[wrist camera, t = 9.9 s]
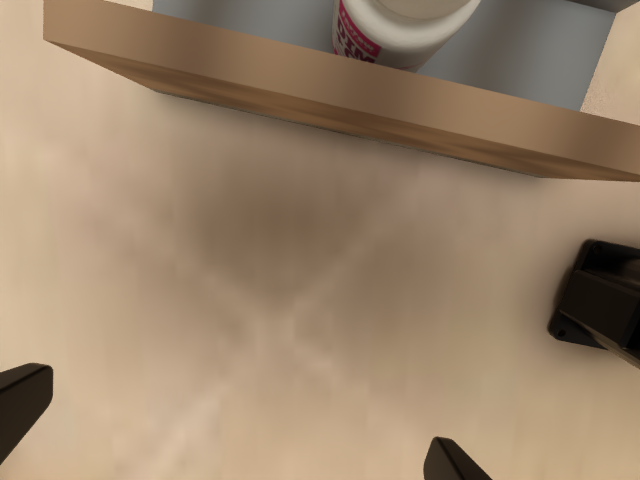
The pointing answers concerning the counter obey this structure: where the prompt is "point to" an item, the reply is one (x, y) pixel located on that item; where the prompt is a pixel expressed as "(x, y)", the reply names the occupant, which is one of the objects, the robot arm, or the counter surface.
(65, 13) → the cleat board
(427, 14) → the pill bottle
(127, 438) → the counter surface
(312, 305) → the counter surface
